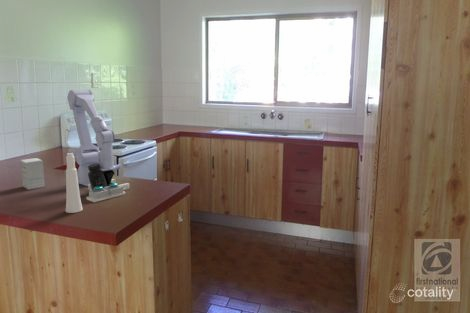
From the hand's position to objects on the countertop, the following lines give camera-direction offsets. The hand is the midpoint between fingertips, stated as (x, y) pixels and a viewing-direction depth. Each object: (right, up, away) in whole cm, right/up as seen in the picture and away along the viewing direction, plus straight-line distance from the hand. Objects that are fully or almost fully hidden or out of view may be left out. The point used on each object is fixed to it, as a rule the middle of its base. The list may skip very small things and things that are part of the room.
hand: (108, 187), depth 169 cm
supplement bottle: (-3, -1, -2) cm, 4 cm away
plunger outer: (0, -2, -13) cm, 13 cm away
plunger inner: (+5, -1, -7) cm, 9 cm away
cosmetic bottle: (-4, -7, -27) cm, 28 cm away
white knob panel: (0, -2, -4) cm, 4 cm away
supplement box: (-35, 0, +3) cm, 36 cm away
